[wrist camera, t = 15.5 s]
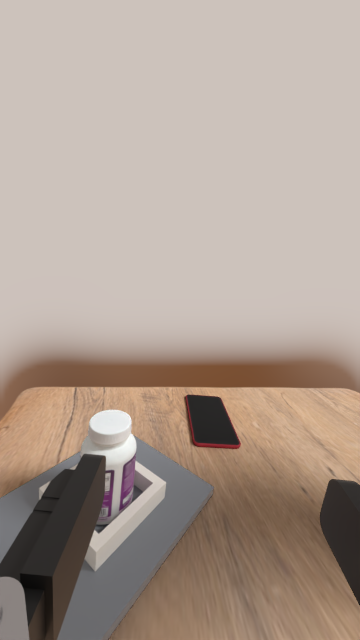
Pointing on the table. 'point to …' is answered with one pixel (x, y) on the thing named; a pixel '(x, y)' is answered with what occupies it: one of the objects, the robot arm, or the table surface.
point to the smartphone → (210, 423)
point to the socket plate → (117, 538)
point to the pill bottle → (113, 459)
